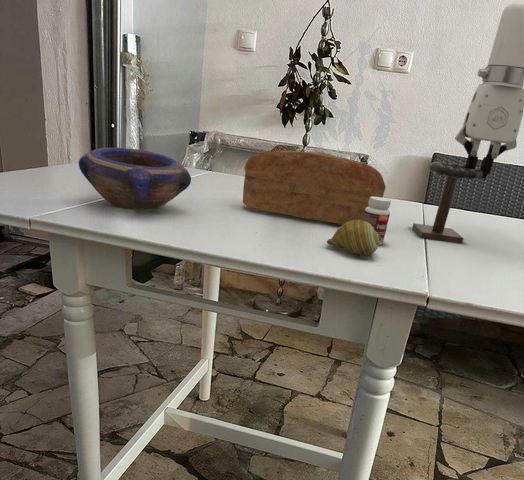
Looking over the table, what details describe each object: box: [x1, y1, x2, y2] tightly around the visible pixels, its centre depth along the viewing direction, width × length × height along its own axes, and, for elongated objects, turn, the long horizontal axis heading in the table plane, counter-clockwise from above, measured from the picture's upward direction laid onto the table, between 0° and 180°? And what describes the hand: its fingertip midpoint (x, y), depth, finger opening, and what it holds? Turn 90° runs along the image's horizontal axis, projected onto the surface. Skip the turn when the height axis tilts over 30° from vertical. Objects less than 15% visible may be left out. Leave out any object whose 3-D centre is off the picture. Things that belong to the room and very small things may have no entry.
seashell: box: [326, 220, 382, 258], centre depth 89 cm, size 10×7×8 cm
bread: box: [242, 149, 387, 226], centre depth 111 cm, size 12×31×14 cm, turn 78°
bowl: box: [78, 147, 192, 211], centre depth 98 cm, size 18×18×10 cm
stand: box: [411, 176, 464, 244], centre depth 110 cm, size 9×9×13 cm
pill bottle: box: [363, 197, 392, 246], centre depth 97 cm, size 5×5×8 cm
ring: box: [427, 161, 484, 181], centre depth 107 cm, size 11×11×2 cm
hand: (475, 176), depth 107 cm, fingers closed on ring, 2 cm apart
